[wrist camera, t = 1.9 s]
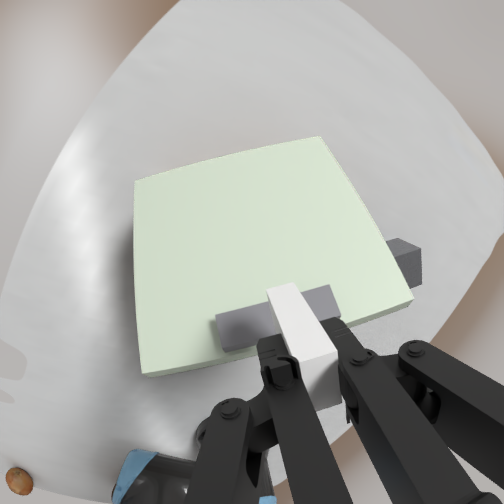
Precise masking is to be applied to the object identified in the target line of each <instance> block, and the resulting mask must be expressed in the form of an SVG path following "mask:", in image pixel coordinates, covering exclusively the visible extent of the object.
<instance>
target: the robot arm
mask: <svg viewBox="0 0 504 504" xmlns="http://www.w3.org/2000/svg"><path fill="white" fill-rule="evenodd" d="M266 292H267V297H268V301H269V305H270V309H271V314H272V318H273V322H274V326H275V331H276V335H272V336H269V337H265V338H261V339H259V341H258V343H257V345H256V348H257V352H258V357H259V361H260V365H261V371H260V372H261V375H262V379H263V382H264V388H263V390H262V391H261V393H259V394H258V395H257V396H256V397H254V398H253V399H251V400H249V401H247V402H246V401H244V400H242V399H239V398H231V399H226V400H224V401H222V402H219V403H218V404H217V405H216V406H215V407H214V408H213V410H212V412H211V415H210V417H209V418H207V419H205V420H204V421H203V422H202V423H201V424H200V425H199V427H198V429H197V445H198V448H199V450H200V451H199V454H198V457H197V461H191V460H186V459H181V458H177V457H172V456H168V455H164V454H160V453H159V452H150V451H146V450H141V449H134V450H132V451H131V452H130V453H129V454H128V456H127V458H126V460H125V462H124V464H123V467H122V469H121V472H120V474H119V477H118V480H117V485H116V487H115V490H114V493H113V498H112V502H113V504H276V497H275V494H274V490H273V485H272V481H271V476H270V471H269V467H268V462H267V457H268V452H269V448H271V447H273V446H275V445H277V444H279V446H280V450H281V454H282V458H283V462H284V466H285V470H286V474H287V478H288V482H289V486H290V490H291V493H292V497H293V501H294V504H353V502H352V499H351V497H350V494H349V492H348V490H347V487H346V485H345V482H344V480H343V478H342V475H341V472H340V470H339V468H338V465H337V463H336V460H335V458H334V456H333V453H332V451H331V448H330V446H329V443H328V441H327V438H326V436H325V433H324V431H323V428H322V426H321V424H320V421H319V419H318V416H317V414H316V411H319V410H322V409H325V408H329V407H332V406H335V405H338V404H340V403H342V396H343V398H344V400H345V403H346V420H347V424H348V423H350V420H351V422H352V424H353V425H354V427H355V429H356V431H357V433H358V435H359V437H360V439H361V441H362V443H363V445H364V447H365V449H366V451H367V453H368V455H369V457H370V459H371V461H372V463H373V465H374V467H375V469H376V471H377V473H378V475H379V477H380V479H381V481H382V483H383V485H384V487H385V489H386V491H387V493H388V495H389V497H390V499H391V501H392V503H393V504H502V502H501V501H500V499H499V498H498V497H497V496H495V495H494V494H492V493H490V492H481V491H479V489H478V488H477V487H476V486H475V484H474V483H473V481H472V480H471V479H470V477H469V476H468V474H467V473H466V471H465V470H464V469H463V467H462V466H461V465H460V463H459V462H458V461H457V459H456V458H455V456H454V455H453V454H452V452H451V451H450V449H451V450H452V451H454V452H455V453H456V454H458V455H459V456H460V457H461V458H463V459H464V460H465V461H467V462H468V463H469V464H470V465H472V466H473V467H474V468H476V469H477V470H478V471H480V472H481V473H482V474H484V475H485V476H486V477H487V478H489V479H490V480H491V481H493V482H494V483H495V484H497V485H498V486H499V487H501V488H502V489H503V490H504V386H503V385H501V384H499V383H498V382H496V381H494V380H492V379H491V378H489V377H487V376H485V375H484V374H482V373H480V372H478V371H477V370H475V369H473V368H471V367H469V366H468V365H466V364H464V363H463V362H461V361H459V360H457V359H456V358H454V357H452V356H450V355H448V354H447V353H445V352H443V351H441V350H440V349H438V348H436V347H434V346H432V345H431V344H429V343H427V342H425V341H422V340H413V341H408V342H406V343H404V344H403V345H402V346H401V347H400V348H399V351H398V354H394V355H387V356H378V355H377V354H376V353H375V352H374V351H372V350H369V349H364V347H363V346H362V345H361V343H360V342H359V341H358V340H357V338H356V337H355V336H354V334H353V333H351V330H350V329H349V328H348V327H347V325H346V324H345V323H344V321H343V320H341V319H338V318H336V317H332V318H329V319H325V320H322V321H318V319H317V318H316V316H315V315H314V313H313V311H312V310H311V308H310V307H309V305H308V304H307V302H306V301H305V299H304V297H303V296H302V294H301V293H300V291H299V290H298V288H297V287H296V285H295V284H294V282H291V283H287V284H284V285H280V286H276V287H272V288H269V289H266ZM341 394H342V395H341ZM448 447H449V448H450V449H449V448H448Z"/></svg>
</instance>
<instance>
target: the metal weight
mask: <svg viewBox="0 0 504 504" xmlns="http://www.w3.org/2000/svg"><path fill="white" fill-rule="evenodd" d="M385 242H386V244H387V246H388V247H389V249H390V251H391V253H392V255H393V257H394V259H395V261H396V263H397V265H398V267H399V268H400V270H401V272H402V274H403V276H404V278H405V280H406V282H407V285H408V287H409V289H411V288H413V287H416V286H419V285H421V284H422V264H421V248H419V247H417V246H414V245H412V244H410V243H408V242H405V241H403V240H401V239H399V238H396V239H392V240H389V241H385Z"/></svg>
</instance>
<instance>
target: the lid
mask: <svg viewBox="0 0 504 504" xmlns="http://www.w3.org/2000/svg"><path fill="white" fill-rule="evenodd" d="M133 250H134V285H135V305H136V319H137V332H138V343H139V353H140V362H141V370H142V374H144V375H146V376H148V377H150V378H152V377H158V376H163V375H169V374H174V373H180V372H185V371H190V370H195V369H200V368H204V367H209V366H214V365H218V364H223V363H227V362H231V361H236V360H240V359H244V358H248V357H252V356H256V355H258V352H257V348H256V345H257V343H258V341H259V339H261V338H265V337H269V336H272V335H276V331H275V326H274V322H273V318H272V314H271V309H270V305H269V301H268V297H267V292H266V289H269V288H272V287H276V286H280V285H284V284H287V283H291V282H294V284H295V285H296V287H297V288H298V290H299V291H300V293H301V294H302V296H303V297H304V299H305V301H306V302H307V304H308V305H309V307H310V308H311V310H312V311H313V313H314V315H315V316H316V318H317V319H318V321H322V320H325V319H329V318H332V317H336V318H338V319H341V320H343V321H344V323H345V324H346V325H347V327H348V328H351V327H354V326H357V325H359V324H362V323H365V322H368V321H371V320H374V319H376V318H379V317H382V316H385V315H387V314H390V313H393V312H395V311H398V310H401V309H403V308H406V307H408V306H409V305H410V303H411V302H412V301H413V300H414V297H413V295H412V293H411V291H410V289H409V287H408V285H407V282H406V280H405V278H404V276H403V274H402V272H401V270H400V268H399V267H398V265H397V263H396V261H395V259H394V257H393V255H392V253H391V251H390V249H389V247H388V246H387V244H386V242H385V240H384V238H383V236H382V235H381V233H380V231H379V229H378V227H377V226H376V224H375V222H374V220H373V219H372V217H371V215H370V214H369V212H368V210H367V208H366V207H365V205H364V203H363V202H362V200H361V198H360V197H359V195H358V193H357V192H356V190H355V189H354V187H353V185H352V184H351V182H350V181H349V179H348V177H347V176H346V174H345V173H344V171H343V170H342V168H341V167H340V165H339V164H338V162H337V160H336V159H335V157H334V156H333V154H332V153H331V151H330V150H329V149H328V147H327V146H326V144H325V143H324V141H323V140H322V138H321V137H320V136H317V137H311V138H305V139H300V140H295V141H289V142H284V143H279V144H274V145H269V146H264V147H260V148H255V149H251V150H246V151H242V152H237V153H233V154H229V155H225V156H221V157H217V158H213V159H209V160H205V161H201V162H197V163H194V164H190V165H186V166H183V167H179V168H176V169H172V170H169V171H165V172H162V173H159V174H155V175H152V176H149V177H146V178H142V179H139V180H136V181H135V187H134V222H133Z"/></svg>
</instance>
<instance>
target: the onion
mask: <svg viewBox="0 0 504 504" xmlns="http://www.w3.org/2000/svg"><path fill="white" fill-rule="evenodd" d="M6 482H7V484H8V486H9V488H10V489H11V491H13V492H14V493H16V494H19V495H28V494H29V493H31V491H32V489H33V481H32V479H31V477H30V476H29V475H28V473H27V472H25V471H24V470H22V469H20V468H11V469H10V470H8V472H7V474H6Z"/></svg>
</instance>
